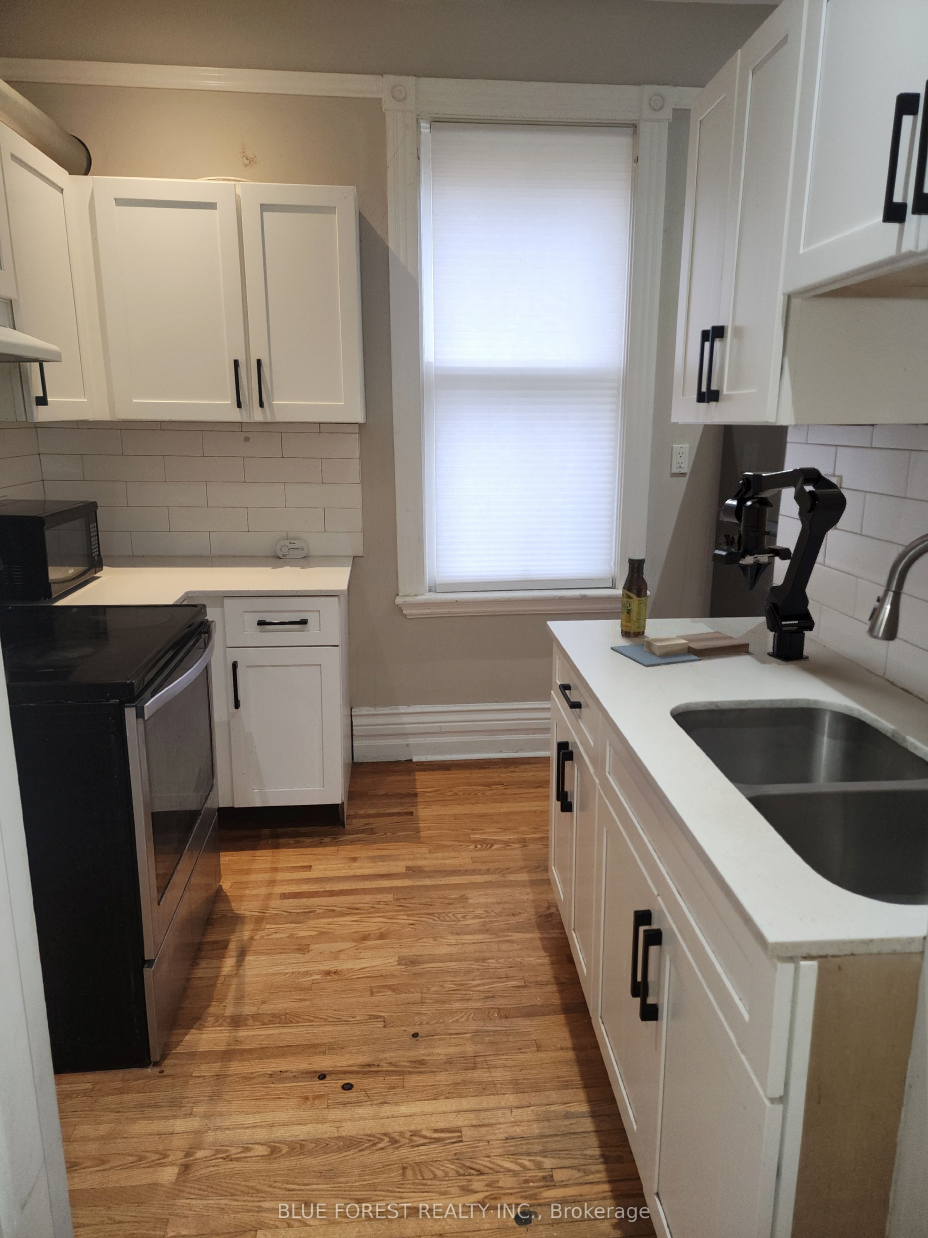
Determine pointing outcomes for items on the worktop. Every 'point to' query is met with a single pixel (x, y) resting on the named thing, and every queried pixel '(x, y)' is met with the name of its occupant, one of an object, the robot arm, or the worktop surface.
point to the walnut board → (714, 644)
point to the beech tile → (666, 645)
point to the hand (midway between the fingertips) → (749, 590)
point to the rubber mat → (652, 655)
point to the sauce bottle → (634, 599)
